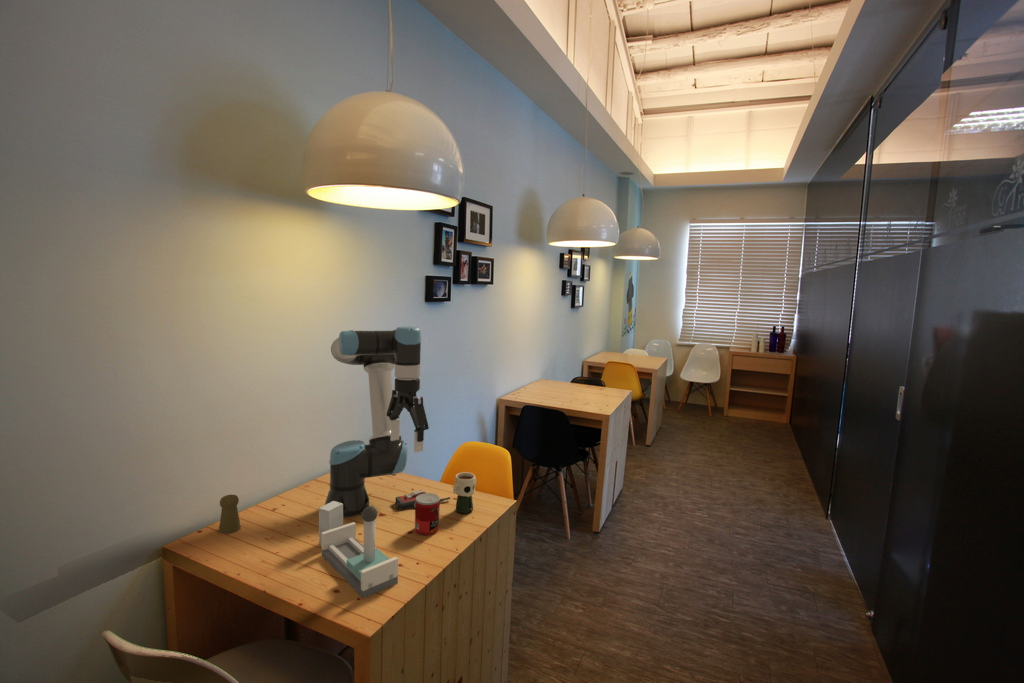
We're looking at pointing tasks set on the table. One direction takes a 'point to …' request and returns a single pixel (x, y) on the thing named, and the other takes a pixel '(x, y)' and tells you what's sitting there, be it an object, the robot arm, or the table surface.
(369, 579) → the rail track
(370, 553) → the carriage
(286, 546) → the table surface
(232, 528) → the olive pawn figure
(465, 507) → the character mug
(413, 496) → the walkie-talkie
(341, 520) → the skincare box
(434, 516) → the canned food
